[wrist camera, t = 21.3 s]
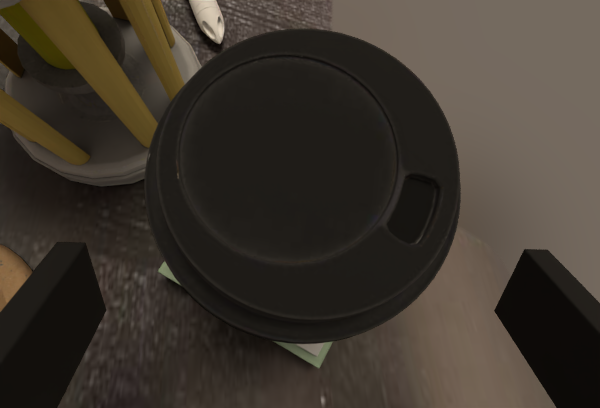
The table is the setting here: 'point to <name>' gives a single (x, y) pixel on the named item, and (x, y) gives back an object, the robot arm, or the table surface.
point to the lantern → (90, 83)
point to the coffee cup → (303, 186)
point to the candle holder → (11, 274)
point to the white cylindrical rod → (209, 18)
